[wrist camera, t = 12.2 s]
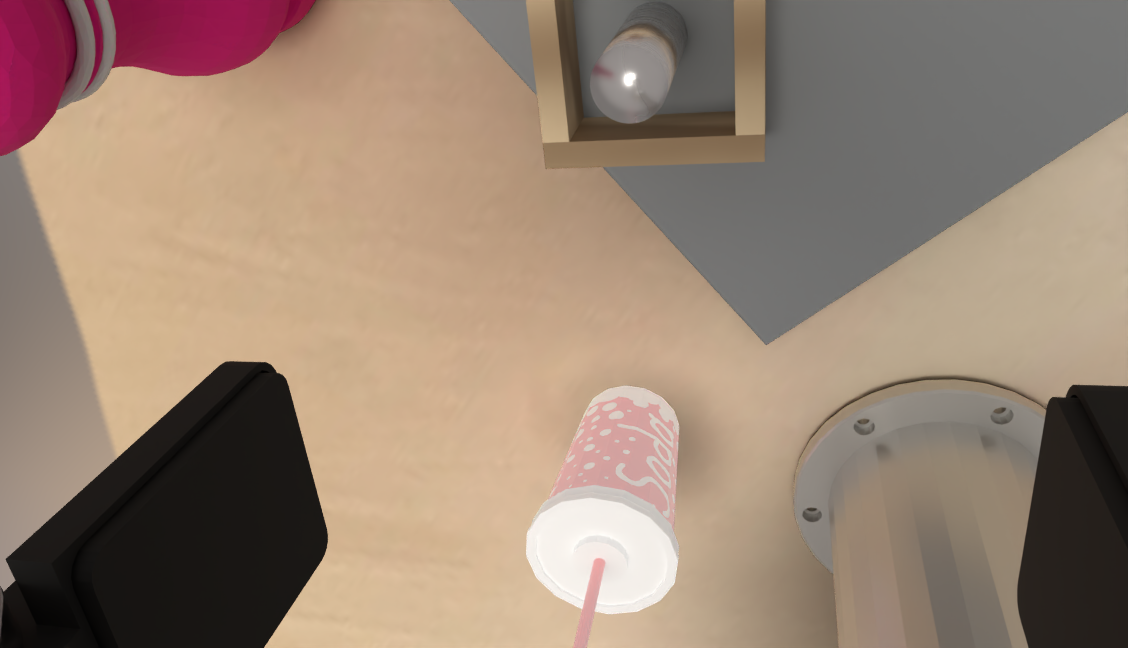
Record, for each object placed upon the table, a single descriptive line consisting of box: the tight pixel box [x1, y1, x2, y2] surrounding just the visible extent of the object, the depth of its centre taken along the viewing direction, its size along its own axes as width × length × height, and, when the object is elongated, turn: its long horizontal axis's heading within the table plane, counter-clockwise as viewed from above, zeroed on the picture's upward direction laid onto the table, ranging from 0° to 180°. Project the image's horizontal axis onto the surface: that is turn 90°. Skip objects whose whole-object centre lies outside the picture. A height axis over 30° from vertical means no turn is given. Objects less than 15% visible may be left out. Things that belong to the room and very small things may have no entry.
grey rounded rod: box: [590, 1, 687, 124], centre depth 31 cm, size 2×2×7 cm
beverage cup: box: [526, 385, 679, 648], centre depth 38 cm, size 6×6×14 cm
